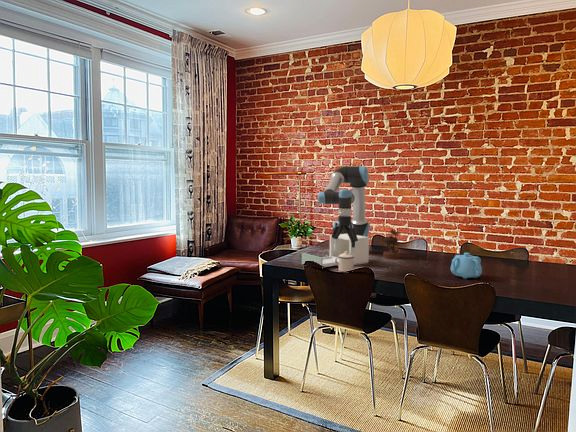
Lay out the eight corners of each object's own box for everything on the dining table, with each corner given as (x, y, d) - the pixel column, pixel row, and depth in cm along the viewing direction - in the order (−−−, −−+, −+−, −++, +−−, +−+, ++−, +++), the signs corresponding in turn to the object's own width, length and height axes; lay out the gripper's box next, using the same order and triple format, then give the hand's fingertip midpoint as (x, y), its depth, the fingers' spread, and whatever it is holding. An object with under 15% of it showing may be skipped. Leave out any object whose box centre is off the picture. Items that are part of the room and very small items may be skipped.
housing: (329, 260, 286) (329, 235, 285) (347, 257, 296) (347, 233, 294) (350, 265, 270) (350, 239, 269) (368, 262, 279) (369, 237, 278)
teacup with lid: (356, 270, 258) (356, 251, 256) (348, 273, 250) (349, 253, 249) (338, 267, 265) (339, 248, 264) (331, 270, 258) (331, 251, 256)
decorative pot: (484, 276, 246) (485, 252, 245) (478, 281, 233) (479, 256, 232) (454, 272, 255) (455, 249, 254) (447, 277, 242) (448, 253, 241)
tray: (301, 264, 273) (301, 252, 272) (330, 259, 286) (330, 249, 286) (321, 269, 257) (321, 257, 256) (350, 265, 271) (350, 253, 270)
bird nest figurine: (403, 257, 297) (403, 229, 293) (396, 261, 288) (396, 232, 285) (383, 254, 306) (383, 227, 303) (376, 258, 298) (375, 230, 295)
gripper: (326, 214, 262) (325, 248, 264) (355, 217, 242) (354, 255, 244) (335, 213, 267) (334, 247, 268) (364, 217, 246) (363, 253, 248)
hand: (344, 251), depth 256 cm, fingers open, 13 cm apart
